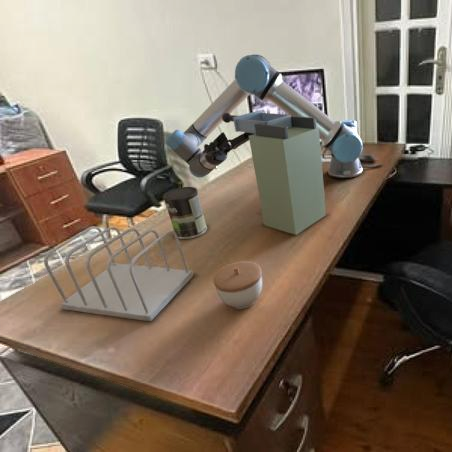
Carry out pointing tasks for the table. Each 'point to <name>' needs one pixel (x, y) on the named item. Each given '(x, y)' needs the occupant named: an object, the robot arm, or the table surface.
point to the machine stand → (289, 174)
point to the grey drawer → (257, 120)
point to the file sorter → (124, 281)
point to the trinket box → (239, 284)
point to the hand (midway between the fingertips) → (241, 131)
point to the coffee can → (185, 212)
